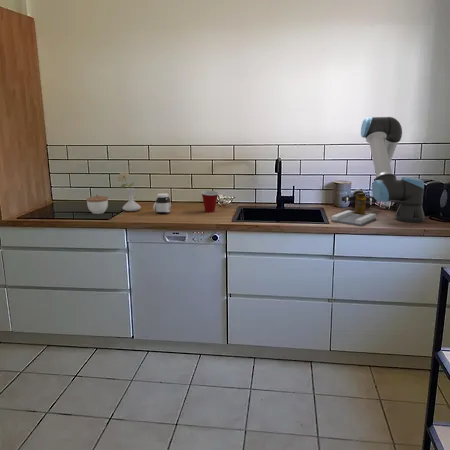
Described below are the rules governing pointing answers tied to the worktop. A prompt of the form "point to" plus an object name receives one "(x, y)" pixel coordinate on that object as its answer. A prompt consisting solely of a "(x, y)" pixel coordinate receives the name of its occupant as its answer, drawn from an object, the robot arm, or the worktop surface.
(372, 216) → the grey tray with rails
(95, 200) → the lidded bowl
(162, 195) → the spread jar
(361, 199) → the condiment
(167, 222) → the worktop surface
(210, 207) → the plastic cup
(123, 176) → the flower in vase
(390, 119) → the robot arm
